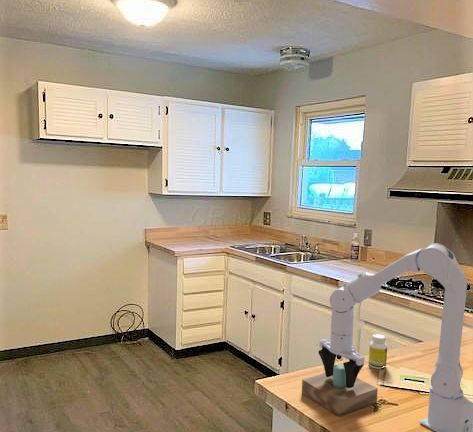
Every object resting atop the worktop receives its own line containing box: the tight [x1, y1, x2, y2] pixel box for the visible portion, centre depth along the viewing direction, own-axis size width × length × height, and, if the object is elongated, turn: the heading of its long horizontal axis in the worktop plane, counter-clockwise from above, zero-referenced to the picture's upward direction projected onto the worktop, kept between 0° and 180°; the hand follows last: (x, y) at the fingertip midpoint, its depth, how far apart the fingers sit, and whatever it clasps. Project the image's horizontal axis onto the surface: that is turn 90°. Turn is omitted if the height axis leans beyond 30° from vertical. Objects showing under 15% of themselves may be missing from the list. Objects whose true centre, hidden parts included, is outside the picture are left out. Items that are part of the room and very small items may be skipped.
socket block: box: [301, 372, 379, 417], centre depth 123 cm, size 14×14×4 cm
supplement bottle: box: [368, 333, 388, 370], centre depth 144 cm, size 5×5×10 cm
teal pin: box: [333, 364, 346, 390], centre depth 123 cm, size 4×4×8 cm
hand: (339, 381), depth 123 cm, fingers open, 7 cm apart
